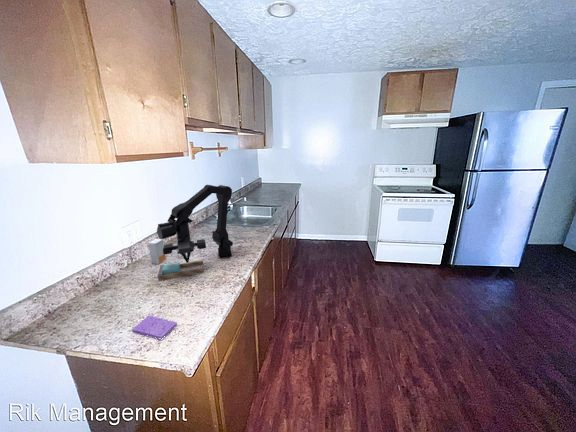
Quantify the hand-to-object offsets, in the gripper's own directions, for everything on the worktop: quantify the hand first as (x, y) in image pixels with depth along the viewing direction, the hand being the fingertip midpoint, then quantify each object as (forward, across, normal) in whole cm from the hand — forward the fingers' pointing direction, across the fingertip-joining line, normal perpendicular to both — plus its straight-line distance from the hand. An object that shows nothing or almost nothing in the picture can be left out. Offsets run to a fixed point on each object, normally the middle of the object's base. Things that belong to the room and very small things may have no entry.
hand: (187, 262), depth 114 cm
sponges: (+5, -10, -37) cm, 38 cm away
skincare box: (+5, -15, +16) cm, 22 cm away
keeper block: (+5, -8, 0) cm, 9 cm away
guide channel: (+5, -3, 0) cm, 5 cm away
